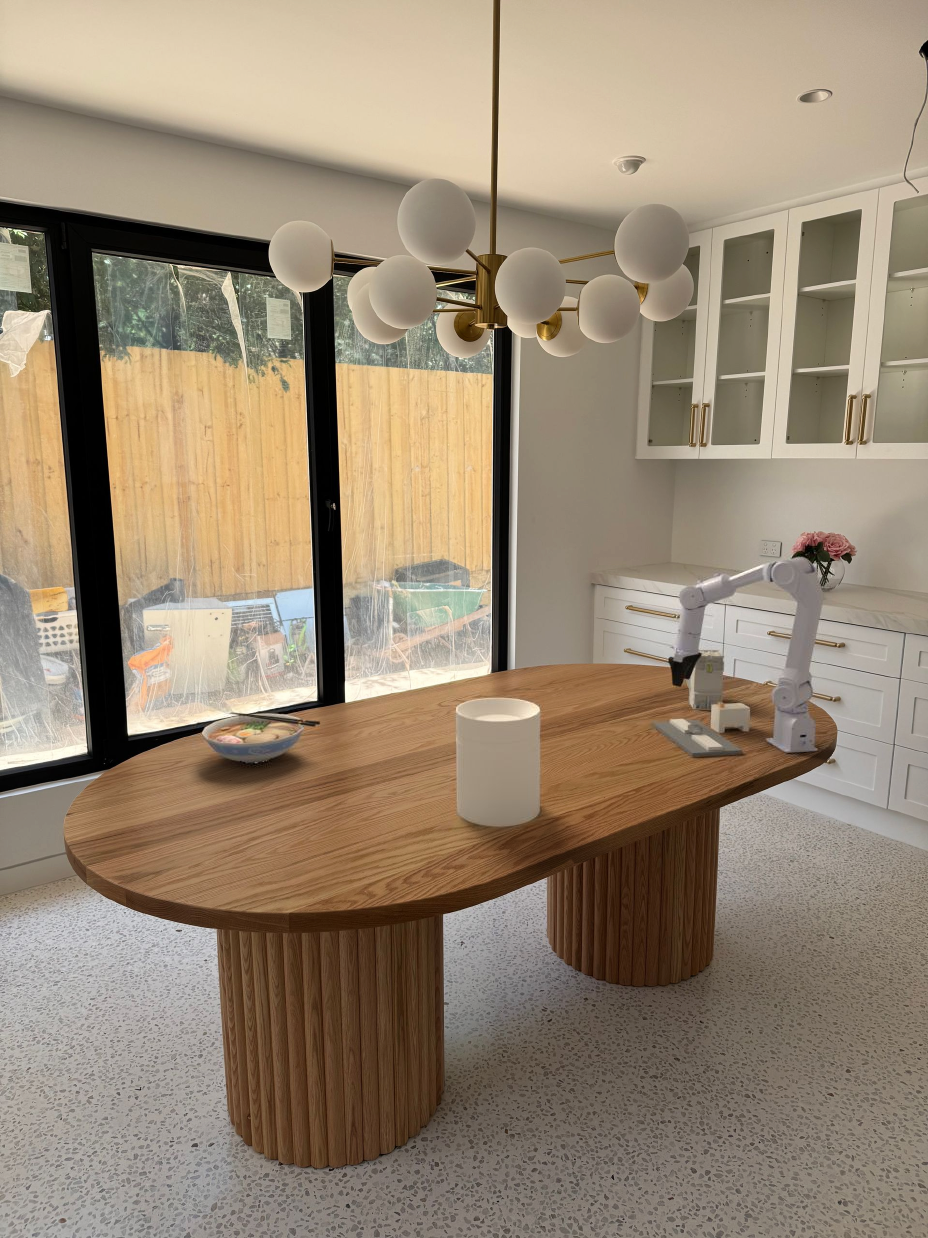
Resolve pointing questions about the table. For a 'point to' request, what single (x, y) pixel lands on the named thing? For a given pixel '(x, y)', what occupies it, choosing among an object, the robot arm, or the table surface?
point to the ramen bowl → (255, 736)
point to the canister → (498, 761)
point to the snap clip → (695, 728)
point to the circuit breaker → (706, 680)
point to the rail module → (730, 716)
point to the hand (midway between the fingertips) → (681, 682)
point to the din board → (696, 739)
